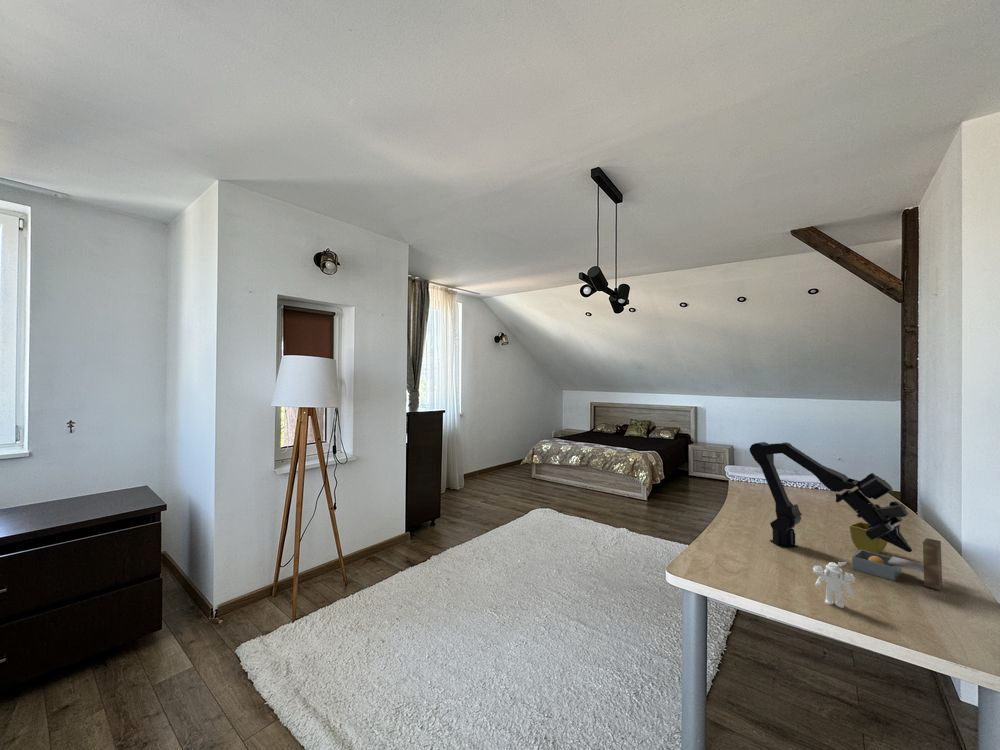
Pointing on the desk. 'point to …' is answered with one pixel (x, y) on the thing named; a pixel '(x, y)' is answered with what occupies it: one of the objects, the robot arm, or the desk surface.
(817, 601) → the desk surface
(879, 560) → the ball
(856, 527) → the flower pot
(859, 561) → the shallow blue-grey tray
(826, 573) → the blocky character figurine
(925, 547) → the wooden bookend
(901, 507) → the robot arm
